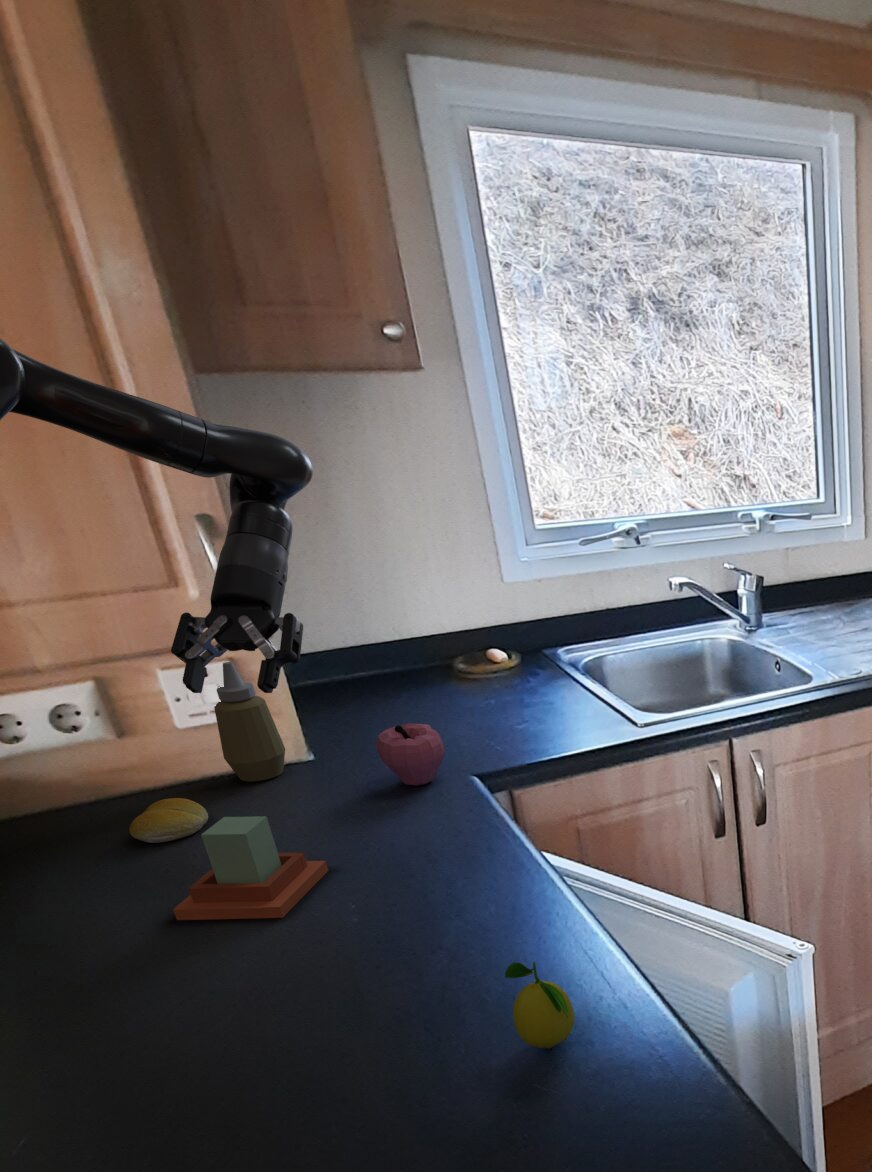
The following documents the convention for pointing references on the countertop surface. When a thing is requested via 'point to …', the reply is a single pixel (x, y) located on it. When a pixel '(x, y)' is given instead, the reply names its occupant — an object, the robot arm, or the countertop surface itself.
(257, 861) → the sage pad block
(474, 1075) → the countertop surface
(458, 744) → the countertop surface
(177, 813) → the bread roll
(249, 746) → the squeeze bottle
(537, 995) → the lemon
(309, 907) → the countertop surface
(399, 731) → the apple
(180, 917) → the base pad
